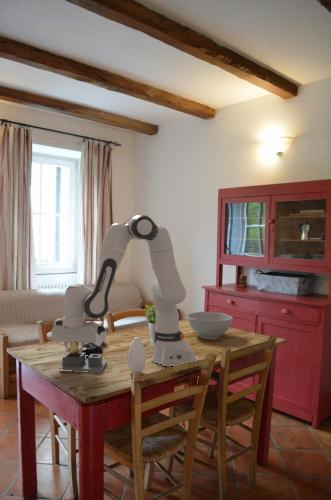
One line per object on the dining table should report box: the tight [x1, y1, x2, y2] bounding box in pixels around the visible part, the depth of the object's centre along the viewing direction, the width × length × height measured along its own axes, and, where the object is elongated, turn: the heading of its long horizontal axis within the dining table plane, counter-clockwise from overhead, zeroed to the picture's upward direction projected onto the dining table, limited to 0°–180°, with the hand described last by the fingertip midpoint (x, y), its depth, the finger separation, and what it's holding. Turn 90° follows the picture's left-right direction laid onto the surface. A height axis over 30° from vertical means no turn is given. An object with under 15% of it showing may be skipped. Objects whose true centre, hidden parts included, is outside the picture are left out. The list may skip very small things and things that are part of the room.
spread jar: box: [91, 320, 107, 347], centre depth 208 cm, size 12×11×12 cm
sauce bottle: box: [127, 331, 147, 372], centre depth 167 cm, size 8×8×18 cm
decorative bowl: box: [186, 311, 234, 340], centre depth 230 cm, size 27×27×12 cm
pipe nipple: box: [69, 341, 80, 357], centre depth 172 cm, size 4×4×8 cm
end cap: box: [80, 343, 104, 359], centre depth 186 cm, size 10×7×7 cm
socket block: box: [59, 352, 108, 373], centre depth 173 cm, size 18×12×6 cm, turn 87°
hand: (74, 351), depth 173 cm, fingers closed on pipe nipple, 4 cm apart
